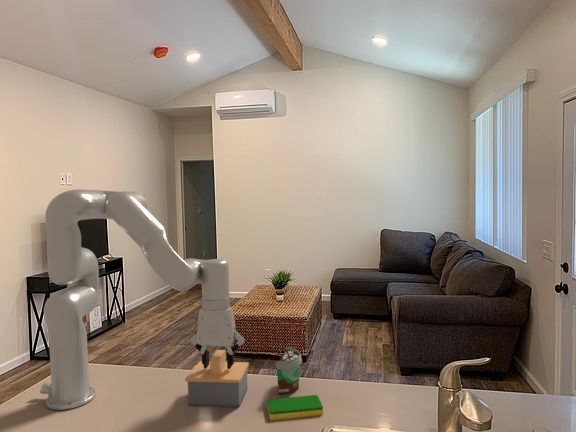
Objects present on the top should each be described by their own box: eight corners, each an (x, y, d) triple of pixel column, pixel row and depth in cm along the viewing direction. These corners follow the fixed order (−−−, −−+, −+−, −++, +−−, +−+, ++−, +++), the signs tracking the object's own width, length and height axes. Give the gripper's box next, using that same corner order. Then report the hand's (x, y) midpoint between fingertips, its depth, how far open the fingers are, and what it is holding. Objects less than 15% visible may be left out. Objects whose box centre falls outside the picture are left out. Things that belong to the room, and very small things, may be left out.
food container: (298, 398, 119) (297, 363, 119) (277, 397, 120) (276, 362, 120) (305, 379, 131) (305, 347, 131) (286, 378, 132) (285, 346, 132)
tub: (188, 406, 116) (187, 380, 116) (201, 387, 127) (200, 364, 127) (239, 407, 115) (238, 382, 115) (247, 389, 126) (246, 365, 125)
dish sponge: (323, 416, 110) (323, 407, 110) (270, 421, 108) (269, 412, 108) (317, 403, 117) (317, 394, 117) (267, 407, 115) (266, 399, 115)
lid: (185, 385, 116) (184, 362, 115) (199, 368, 128) (198, 346, 127) (239, 387, 114) (239, 363, 114) (249, 369, 126) (248, 347, 126)
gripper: (181, 307, 117) (183, 371, 118) (243, 307, 115) (245, 373, 116) (190, 300, 125) (192, 361, 125) (249, 300, 123) (251, 362, 123)
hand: (218, 366), depth 121 cm, fingers open, 6 cm apart
